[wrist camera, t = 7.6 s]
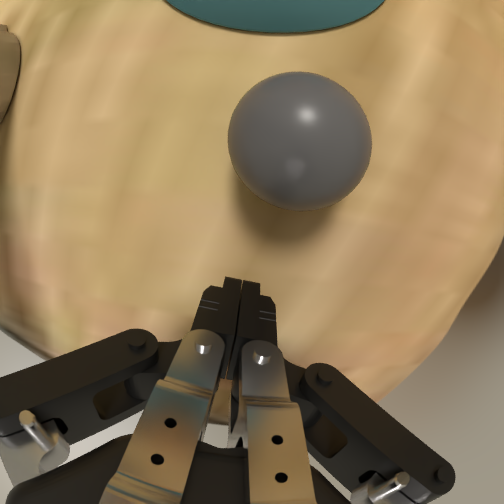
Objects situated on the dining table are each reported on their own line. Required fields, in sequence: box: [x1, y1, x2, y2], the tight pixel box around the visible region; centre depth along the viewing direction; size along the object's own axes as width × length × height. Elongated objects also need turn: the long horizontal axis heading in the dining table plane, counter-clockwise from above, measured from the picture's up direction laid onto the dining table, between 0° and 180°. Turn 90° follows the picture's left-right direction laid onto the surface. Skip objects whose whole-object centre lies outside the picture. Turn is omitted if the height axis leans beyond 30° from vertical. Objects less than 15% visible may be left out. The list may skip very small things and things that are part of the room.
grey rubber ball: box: [228, 72, 372, 211], centre depth 10 cm, size 6×6×6 cm
